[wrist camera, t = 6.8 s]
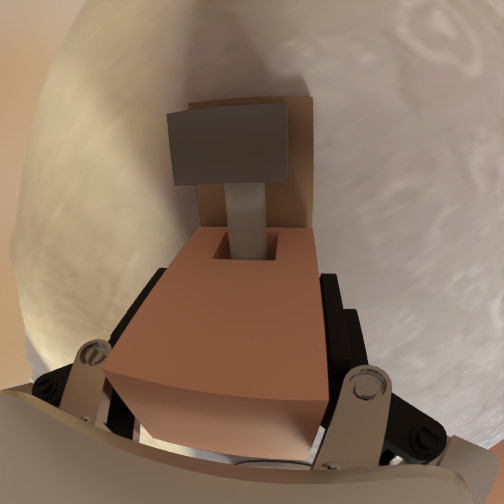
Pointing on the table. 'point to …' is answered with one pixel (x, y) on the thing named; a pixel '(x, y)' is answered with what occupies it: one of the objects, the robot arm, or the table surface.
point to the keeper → (229, 349)
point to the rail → (276, 194)
